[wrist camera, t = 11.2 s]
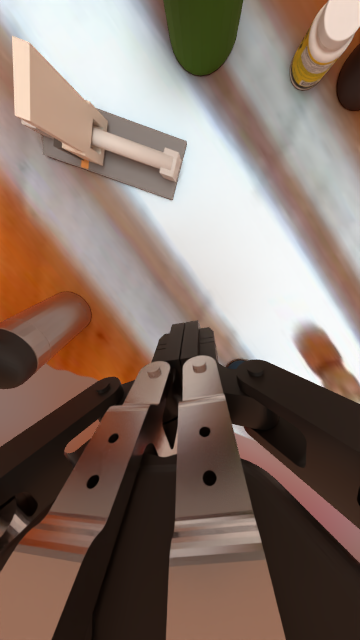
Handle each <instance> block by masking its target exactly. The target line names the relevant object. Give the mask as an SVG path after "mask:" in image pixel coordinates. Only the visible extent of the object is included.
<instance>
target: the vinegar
mask: <svg viewBox="0 0 360 640" xmlns="http://www.w3.org/2000/svg"><path fill="white" fill-rule="evenodd" d="M337 93H338V97H339V100H340V102H341V103H342V104H343V106H344V107H345V108H348V109H350V110H360V44H359V45H358V46H357V47H356V48H355V49H354V51H353V52H352V53H351V54H350V56H349V57H348V58H347V60H346V61H345V63H344V66H343V68H342V70H341V72H340V75H339V79H338V83H337Z"/></svg>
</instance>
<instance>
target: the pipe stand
mask: <svg viewBox="0 0 360 640" xmlns="http://www.w3.org/2000/svg"><path fill="white" fill-rule="evenodd" d="M96 109H97V108H96ZM97 110H98V111H99V112H100V113H101V114H102V115H103V116H104V118H105V119H106V120H107V121H108V125H107V132H105V131H103V130H100V129H97V128H94V127H92V135H91V145H93V146H96V147H99V148H102V149H105V151H104V159H103V166H102V165H99V164H96V163H93V162H90V161H88V160H85V159H84V161H83V160H80V159H77V158H75V157H73V156H71V155H69V154H67V153H65V152H63V151H61V150H60V149H58V148H56V147H54V146H53V144H54V137H52V136H50V135H48V134H47V133H45V132H43V131H41V130H40V129H38V128H36V127H34V126H33V125H31V124H29V123H27V122H25V121H24V120H22V119H21V121H22V124H23V125H25V126H27V127H29V128H31V129H32V130H34V131H36V132H38V133H40V134H42V135H43V155H46V156H48V157H51V158H54V159H57V160H60V161H63V162H65V163H68V164H71V165H74V166H77V167H80V168H83V169H85V170H88V171H91V172H94V173H97V174H100V175H102V176H105V177H108V178H111V179H114V180H117V181H120V182H122V183H125V184H128V185H131V186H134V187H137V188H140V189H142V190H145V191H148V192H151V193H154V194H157V195H160V196H162V197H165V198H168V199H171V200H173V196H174V192H175V188H176V184H177V181H178V177H179V173H180V169H181V165H182V161H183V157H184V153H185V149H186V145H187V142H186V141H184V140H182V139H179V138H176V137H173V136H171V135H168V134H165V133H163V132H160V131H157V130H154V129H152V128H149V127H146V126H143V125H141V124H138V123H135V122H132V121H130V120H127V119H124V118H122V117H119V116H116V115H113V114H111V113H108V112H105V111H102V110H100V109H97Z"/></svg>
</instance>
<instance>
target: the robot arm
mask: <svg viewBox="0 0 360 640" xmlns="http://www.w3.org/2000/svg"><path fill="white" fill-rule="evenodd" d="M90 320H91V311H90V308H89V306H88V304H87V303H86V301H85V300H84V299H83V298H81V297H80V296H79V295H77V294H75V293H72V292H61V293H58V294H56V295H54V296H52V297H50V298H48V299H46V300H44V301H42V302H40V303H38V304H36V305H34V306H32V307H30V308H28V309H26V310H24V311H22V312H20V313H18V314H16V315H14V316H12V317H10V318H8V319H6V320H4V321H3V322H1V323H0V389H10V388H15V387H18V386H19V385H21V384H23V383H24V382H25V381H27V380H28V379H29V378H30V377H31V376H32V375H33V374H34V373H36V372H37V371H38V370H39V369H40V368H41V367H42V366H43V365H44V364H45V363H46V362H47V361H49V360H50V359H51V358H52V357H53V356H54V355H55V354H56V353H57V352H58V351H60V350H61V349H62V348H63V347H64V346H65V345H66V344H67V343H68V342H69V341H71V340H72V339H73V338H74V337H75V336H76V335H77V334H78V333H79V332H80V331H82V330H83V329H84V328H85V327H86V326H87V325H88V324H89V322H90ZM97 419H98V420H99V422H100V424H99V425H98V427H97V429H96V431H95V432H94V434H93V436H92V438H91V439H90V440H88V441H87V442H86V443H85V444H83V445H82V446H81V447H80V448H79V449H78V450H76V451H75V452H73V453H65V452H64V449H65V447H66V445H67V444H68V443H69V442H70V441H71V440H72V439H73V438H74V437H76V436H77V435H78V434H79V433H81V432H82V431H83V430H85V429H86V428H87V427H88V426H90V425H91V424H92V423H93V422H95V421H96V420H97ZM232 424H235V425H240V426H244V429H245V431H246V432H247V433H248V434H249V435H250V436H251V437H252V438H253V439H255V440H256V441H257V442H258V443H259V444H260V445H262V446H263V447H264V448H265V449H266V450H268V451H269V452H270V453H271V454H273V455H274V456H275V457H276V458H277V459H278V460H279V461H280V462H282V463H283V464H284V465H285V466H286V467H287V468H289V469H290V470H291V471H292V472H293V473H294V474H296V475H297V476H298V477H299V478H300V479H302V480H303V481H304V482H305V483H306V484H307V485H309V486H310V487H311V488H312V489H313V490H314V491H316V492H317V493H318V494H319V495H320V496H321V497H323V498H324V499H325V500H326V501H327V502H328V503H330V504H331V505H332V506H333V507H334V508H335V509H337V510H338V511H339V512H340V513H341V514H343V515H344V516H345V517H346V518H347V519H348V520H350V521H351V522H352V523H353V524H354V525H356V526H357V527H358V528H359V529H360V404H358V403H356V402H354V401H352V400H350V399H347V398H345V397H343V396H341V395H339V394H337V393H334V392H332V391H330V390H328V389H326V388H323V387H321V386H319V385H317V384H315V383H312V382H310V381H308V380H306V379H304V378H302V377H299V376H297V375H295V374H293V373H291V372H288V371H286V370H284V369H282V368H280V367H277V366H275V365H273V364H271V363H269V362H266V361H263V360H248V361H245V362H243V363H241V364H240V365H239V366H238V367H237V369H230V368H226V367H224V366H222V365H220V364H219V363H218V356H217V350H216V344H215V338H214V333H213V331H212V330H211V329H210V328H209V327H208V328H201V329H200V324H199V321H191V322H186V323H179V324H173V325H172V327H171V331H170V333H169V334H164V335H163V336H162V337H161V338H160V339H159V342H158V346H157V348H156V351H155V354H154V357H153V359H152V362H151V363H150V364H148V365H146V366H144V367H143V368H142V369H141V370H140V372H139V374H138V376H137V378H136V380H134V381H131V382H128V383H125V384H122V385H121V382H120V380H119V379H118V378H116V377H108V378H104V379H102V380H100V381H98V382H96V383H95V384H93V385H92V386H90V387H89V388H87V389H86V390H84V391H83V392H81V393H80V394H78V395H77V396H76V397H74V398H72V399H71V400H69V401H68V402H66V403H65V404H64V405H62V406H61V407H59V408H58V409H56V410H55V411H53V412H52V413H50V414H49V415H47V416H46V417H44V418H43V419H42V420H40V421H38V422H37V423H35V424H34V425H32V426H31V427H29V428H28V429H26V430H25V431H23V432H22V433H21V434H19V435H17V436H16V437H14V438H13V439H12V440H10V441H9V442H7V443H6V444H4V445H3V446H1V447H0V640H360V563H359V562H358V561H357V560H356V559H355V558H354V557H353V556H352V555H351V554H350V553H349V552H348V551H347V550H346V549H345V548H344V547H343V546H342V545H341V544H340V543H339V542H338V541H337V540H336V539H335V538H334V537H333V536H332V535H331V534H330V533H329V532H328V531H327V530H326V529H325V528H324V527H323V526H322V525H321V524H320V523H319V522H318V521H317V520H316V519H315V518H314V517H313V516H312V515H311V514H310V513H309V512H308V511H307V510H306V509H305V508H304V507H303V506H302V505H301V504H300V503H299V502H298V501H297V500H296V499H295V498H294V497H293V496H292V495H291V494H290V493H289V492H288V491H287V490H286V489H285V488H284V487H283V486H282V485H281V484H280V483H279V482H278V481H277V480H276V479H275V478H274V477H273V476H271V475H270V474H269V473H268V472H266V471H265V470H263V469H262V468H260V467H259V466H257V465H255V464H253V463H251V462H249V461H247V460H244V459H241V458H240V455H239V451H238V447H237V443H236V439H235V435H234V431H233V427H232Z"/></svg>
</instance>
